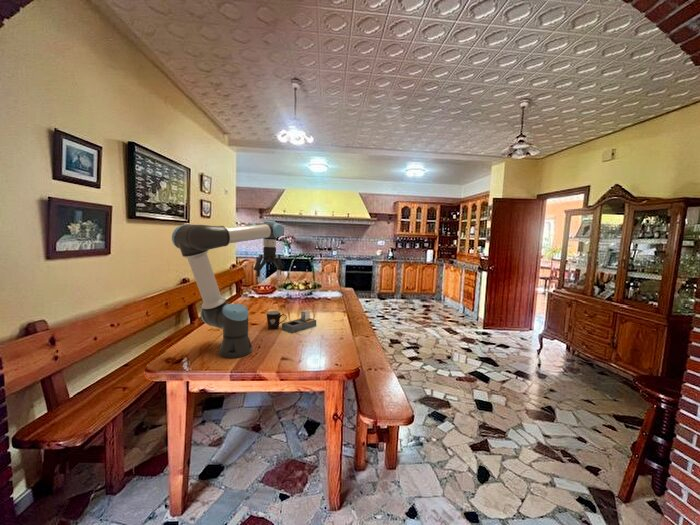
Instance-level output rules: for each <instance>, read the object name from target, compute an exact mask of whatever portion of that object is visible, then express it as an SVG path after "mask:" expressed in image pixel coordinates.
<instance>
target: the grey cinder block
mask: <svg viewBox="0 0 700 525" xmlns="http://www.w3.org/2000/svg"><path fill="white" fill-rule="evenodd" d="M314 327H317V319H314V318H310V320H309V321H306V322H303V321H301V317H299V318H296V319H294V320H290V321H286V322H285V321H284V322H282V323H281V330H282V331H285V332H287V333H289V334H296V333H299V332H301V331H305V330H308V329H311V328H314Z"/></svg>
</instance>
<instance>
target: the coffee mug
mask: <svg viewBox="0 0 700 525" xmlns="http://www.w3.org/2000/svg"><path fill="white" fill-rule="evenodd" d="M283 316H285V319H283V320H282V321H281V317H283ZM286 319H287V315H286V314H284V313H283V314H282V313H281V311H280V310H269V311H268V310H267V312H266V321H267V329H268V330H271V331H272V330H273V331H274V330H278V329H279V327H280V324H282V323H284V322H285V321H286Z"/></svg>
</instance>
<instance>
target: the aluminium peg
mask: <svg viewBox="0 0 700 525" xmlns="http://www.w3.org/2000/svg"><path fill="white" fill-rule="evenodd" d="M310 317H311V311H310V310H307V309H304V310H300V318H301V321H303V322H306V321H309V320H310Z"/></svg>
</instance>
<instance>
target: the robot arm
mask: <svg viewBox="0 0 700 525" xmlns="http://www.w3.org/2000/svg"><path fill="white" fill-rule="evenodd" d="M284 229H285V227H284V226H283V225H282V224H281V223H277V222H276V220H274V221H273V220H264V221H263V223H261V222H258V223H257V222H250V223H248V224H247V225H242V226H241V225H239V226H230V227H226V226H224V225H208V224H207V225H206V224H190V223H187V224H181V225H178V226H177V227H175V229H174V230H173V232H172V234H171V241H172V244H173V245H174V247H176V248H177V249H179V250H180V252H181V255H182V257H183V258H186V259H187V261H188V264H189V266H190V268H191V272H192V274H193V278H194V279H195V280H194V281H195V282H196V286H197V288H198V290H199V294H200V297H201V300H202V301H203V302H202V304H201V310H200V318H201V320H202V322H204V324H206V325H208V326H210V327H215V328H218V329H221V330H222V339H221V340H222V341H221V344H220V346H219V350H218V354H219V356H220V357H222V358H225V359H226V358H227V359H236V358H241V357H242V358H243V357H245V356H247V355H250V354H251V353H252V351H253V347H252V346H253V345H252V343H251V340H250V337H249V308H248V307H247V305H243V304H241V303H228V301H227V299H226V297H224V296H222V295H221V292H220V289H219V286H218V282H217V279H216V276H215V273H214V270H213V268H212V265H211V261H210V259H209V255H208V253H209V251H210V250H213V249H214V250H215V249H218V248H222V247H227V246H229V245H230V244H235V243H236V244H237V243H242V242H247V241H254V240H261V239H262V240H263V243H262V244H263V247H262V248H263V249H262V250H263V253H262V254H259V255H258V258H257V260H256V263H255V264H254V267H253V271H256V277H257V283H262V270H263V268H264V266H265V265H266V264H267V263H273V264H274V266H275V267H276V268H277V269H276V280H277V281H281V275H282V270H283V269H285V266H284V264H283V261H282V259H281V254H279V253H278V254H277V247H276V246H277V238H281V237H282V236H283V235H284V233H285V230H284Z"/></svg>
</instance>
